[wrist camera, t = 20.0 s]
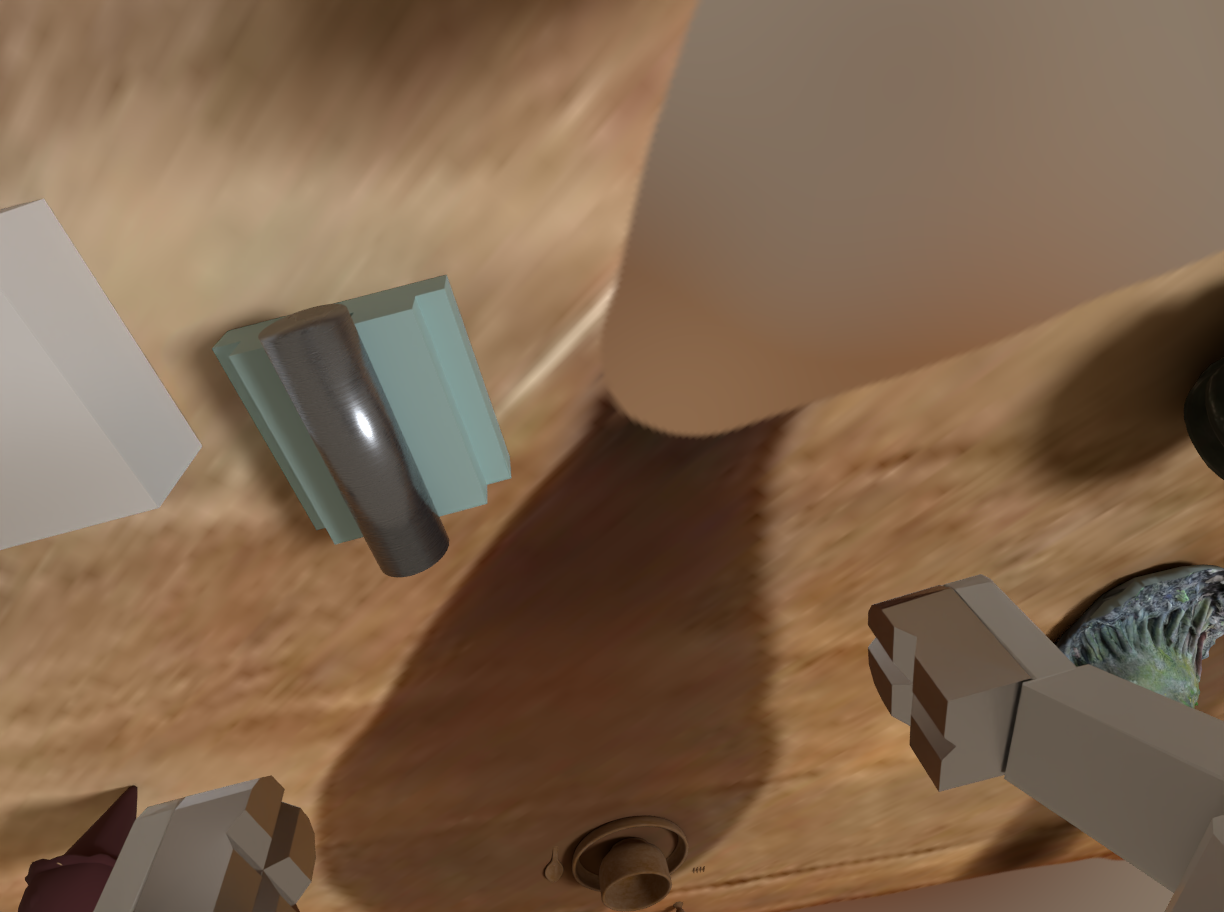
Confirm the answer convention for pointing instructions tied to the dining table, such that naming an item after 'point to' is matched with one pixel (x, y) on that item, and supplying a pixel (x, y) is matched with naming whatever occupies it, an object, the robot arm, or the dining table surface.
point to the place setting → (628, 866)
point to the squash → (1208, 416)
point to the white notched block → (74, 394)
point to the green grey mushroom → (1153, 630)
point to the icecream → (81, 864)
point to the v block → (415, 388)
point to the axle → (357, 435)
